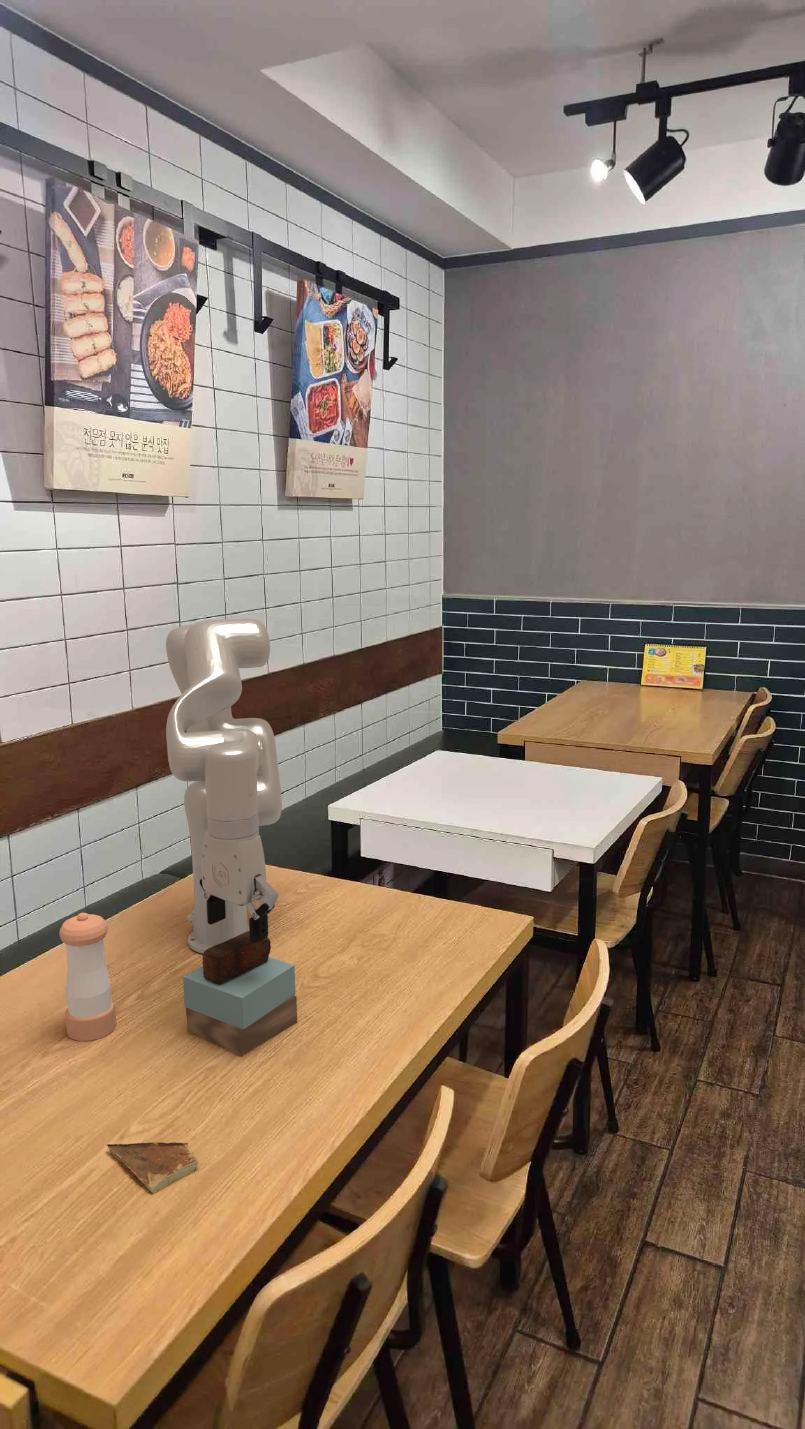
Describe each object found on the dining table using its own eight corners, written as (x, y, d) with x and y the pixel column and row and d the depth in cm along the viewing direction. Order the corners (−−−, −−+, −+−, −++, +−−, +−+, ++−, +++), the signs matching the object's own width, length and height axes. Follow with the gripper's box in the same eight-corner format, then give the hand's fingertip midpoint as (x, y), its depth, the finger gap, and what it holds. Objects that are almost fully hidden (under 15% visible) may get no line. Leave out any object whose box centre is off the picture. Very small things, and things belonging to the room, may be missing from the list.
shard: (107, 1154, 117) (106, 1142, 116) (162, 1127, 122) (161, 1115, 122) (150, 1199, 109) (149, 1185, 109) (206, 1168, 114) (205, 1155, 114)
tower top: (184, 1006, 142) (182, 976, 141) (238, 974, 152) (236, 946, 151) (243, 1029, 136) (242, 998, 135) (295, 994, 146) (294, 965, 145)
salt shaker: (125, 1020, 147) (117, 907, 143) (96, 1044, 140) (87, 926, 136) (87, 1013, 149) (78, 901, 146) (56, 1036, 143) (46, 920, 139)
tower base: (187, 1033, 144) (185, 1003, 143) (244, 1001, 154) (243, 974, 153) (240, 1059, 137) (239, 1029, 136) (297, 1025, 146) (296, 996, 145)
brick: (220, 986, 138) (219, 957, 137) (202, 979, 141) (201, 950, 140) (271, 960, 146) (271, 933, 145) (254, 953, 149) (253, 926, 148)
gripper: (176, 818, 141) (182, 922, 145) (253, 845, 130) (257, 956, 134) (215, 806, 147) (219, 906, 151) (292, 830, 136) (294, 938, 140)
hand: (237, 930), depth 142 cm, fingers open, 9 cm apart
